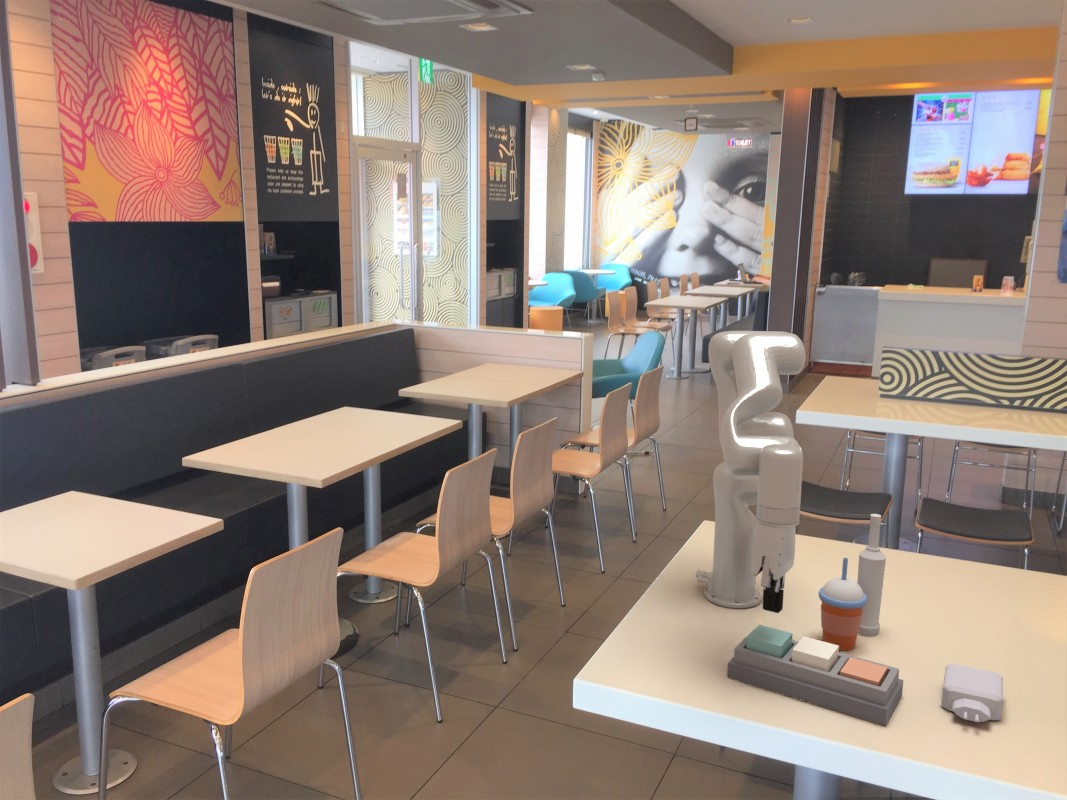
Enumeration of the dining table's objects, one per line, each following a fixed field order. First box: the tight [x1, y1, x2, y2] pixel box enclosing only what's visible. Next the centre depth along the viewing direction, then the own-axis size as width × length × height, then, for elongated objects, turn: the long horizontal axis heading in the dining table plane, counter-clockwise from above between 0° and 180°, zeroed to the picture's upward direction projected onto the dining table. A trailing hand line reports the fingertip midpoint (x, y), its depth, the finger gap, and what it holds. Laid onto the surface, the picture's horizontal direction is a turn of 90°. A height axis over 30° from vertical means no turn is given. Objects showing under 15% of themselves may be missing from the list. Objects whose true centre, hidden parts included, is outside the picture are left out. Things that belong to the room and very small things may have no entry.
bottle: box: [856, 513, 887, 637], centre depth 179 cm, size 5×5×25 cm
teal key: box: [746, 624, 794, 659], centre depth 163 cm, size 6×6×3 cm
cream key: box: [792, 636, 840, 672], centre depth 158 cm, size 6×6×3 cm
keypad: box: [726, 636, 904, 727], centre depth 159 cm, size 28×12×6 cm, turn 55°
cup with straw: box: [818, 557, 867, 651], centre depth 174 cm, size 9×9×18 cm
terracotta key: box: [840, 657, 888, 687], centre depth 154 cm, size 6×6×3 cm
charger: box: [941, 663, 1004, 723], centre depth 151 cm, size 5×9×15 cm
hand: (772, 609), depth 161 cm, fingers closed
